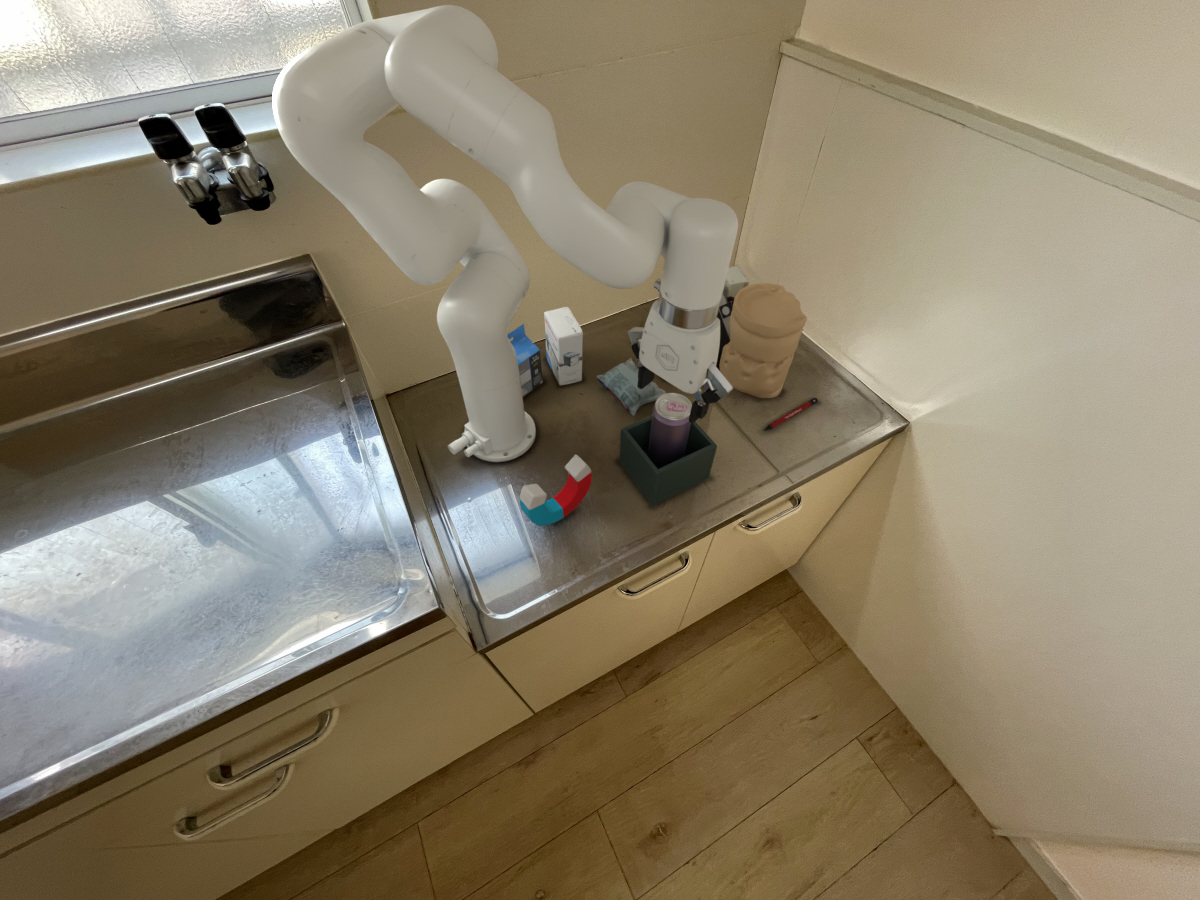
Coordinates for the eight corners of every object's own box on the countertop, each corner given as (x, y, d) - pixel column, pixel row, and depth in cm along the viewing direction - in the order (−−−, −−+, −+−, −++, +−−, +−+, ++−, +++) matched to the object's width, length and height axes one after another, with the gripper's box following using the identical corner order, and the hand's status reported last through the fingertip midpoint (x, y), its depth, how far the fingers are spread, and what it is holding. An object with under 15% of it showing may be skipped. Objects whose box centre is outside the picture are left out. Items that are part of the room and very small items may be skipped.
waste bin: (652, 506, 92) (656, 473, 85) (619, 462, 97) (620, 428, 91) (708, 478, 95) (717, 445, 89) (673, 437, 101) (679, 403, 94)
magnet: (533, 538, 88) (527, 501, 80) (523, 526, 89) (516, 489, 81) (592, 499, 92) (592, 461, 85) (582, 488, 94) (581, 450, 86)
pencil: (760, 431, 102) (761, 427, 101) (813, 400, 107) (814, 396, 106) (763, 434, 102) (765, 430, 101) (816, 403, 107) (818, 399, 106)
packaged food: (631, 368, 112) (632, 349, 109) (667, 404, 106) (670, 385, 102) (594, 385, 109) (594, 366, 106) (629, 423, 103) (631, 404, 99)
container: (762, 354, 115) (785, 277, 101) (794, 396, 108) (823, 319, 94) (705, 367, 113) (721, 290, 99) (734, 411, 105) (756, 334, 91)
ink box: (545, 359, 114) (542, 310, 105) (569, 353, 115) (567, 304, 106) (560, 387, 109) (557, 338, 100) (584, 380, 110) (583, 332, 101)
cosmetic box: (738, 332, 120) (751, 282, 110) (719, 335, 119) (730, 285, 109) (727, 314, 124) (738, 264, 114) (708, 317, 123) (718, 267, 113)
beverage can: (679, 484, 94) (691, 423, 82) (643, 478, 94) (651, 417, 83) (683, 456, 97) (695, 394, 86) (649, 451, 98) (656, 389, 87)
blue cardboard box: (510, 407, 105) (502, 357, 96) (496, 398, 107) (486, 347, 97) (543, 382, 110) (539, 331, 100) (529, 373, 111) (523, 322, 102)
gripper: (616, 286, 72) (610, 383, 85) (728, 351, 65) (702, 446, 78) (654, 263, 76) (642, 360, 89) (764, 322, 69) (733, 418, 82)
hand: (670, 400), depth 84 cm, fingers open, 9 cm apart
